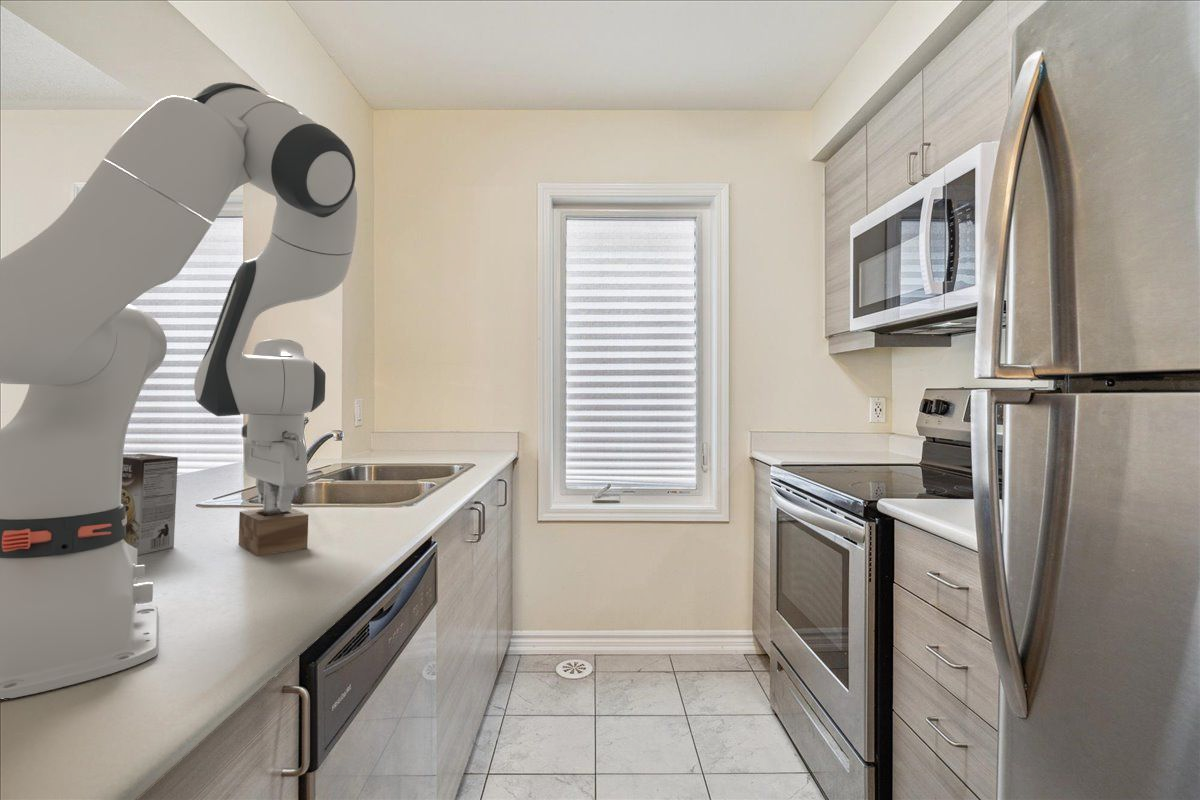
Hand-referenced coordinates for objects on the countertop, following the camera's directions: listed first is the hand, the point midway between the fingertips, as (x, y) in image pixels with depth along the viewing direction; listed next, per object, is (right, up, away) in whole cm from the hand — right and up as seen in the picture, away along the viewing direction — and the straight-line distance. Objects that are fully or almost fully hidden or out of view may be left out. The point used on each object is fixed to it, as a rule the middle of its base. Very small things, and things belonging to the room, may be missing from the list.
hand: (274, 506), depth 104 cm
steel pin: (0, -5, 0) cm, 5 cm away
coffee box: (-21, -7, -4) cm, 23 cm away
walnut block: (0, -7, 0) cm, 7 cm away
